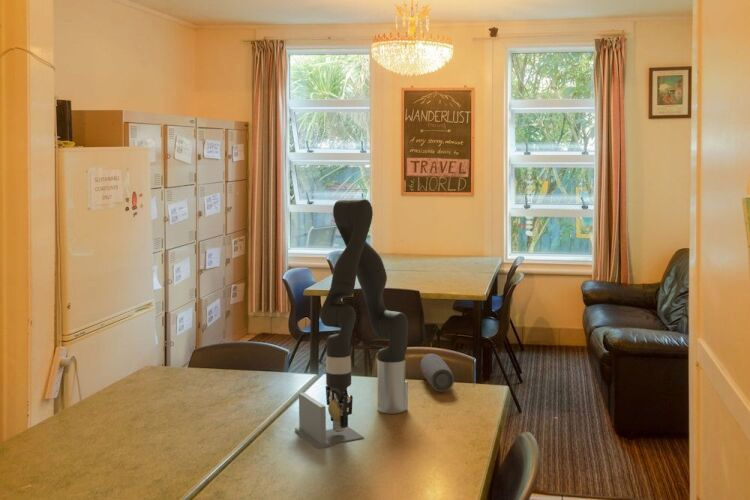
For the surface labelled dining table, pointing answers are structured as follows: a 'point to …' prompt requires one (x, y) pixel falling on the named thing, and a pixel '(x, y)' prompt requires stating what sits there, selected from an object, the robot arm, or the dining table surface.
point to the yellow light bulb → (335, 415)
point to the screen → (312, 421)
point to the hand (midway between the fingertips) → (339, 423)
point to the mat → (342, 436)
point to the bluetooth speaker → (437, 372)
